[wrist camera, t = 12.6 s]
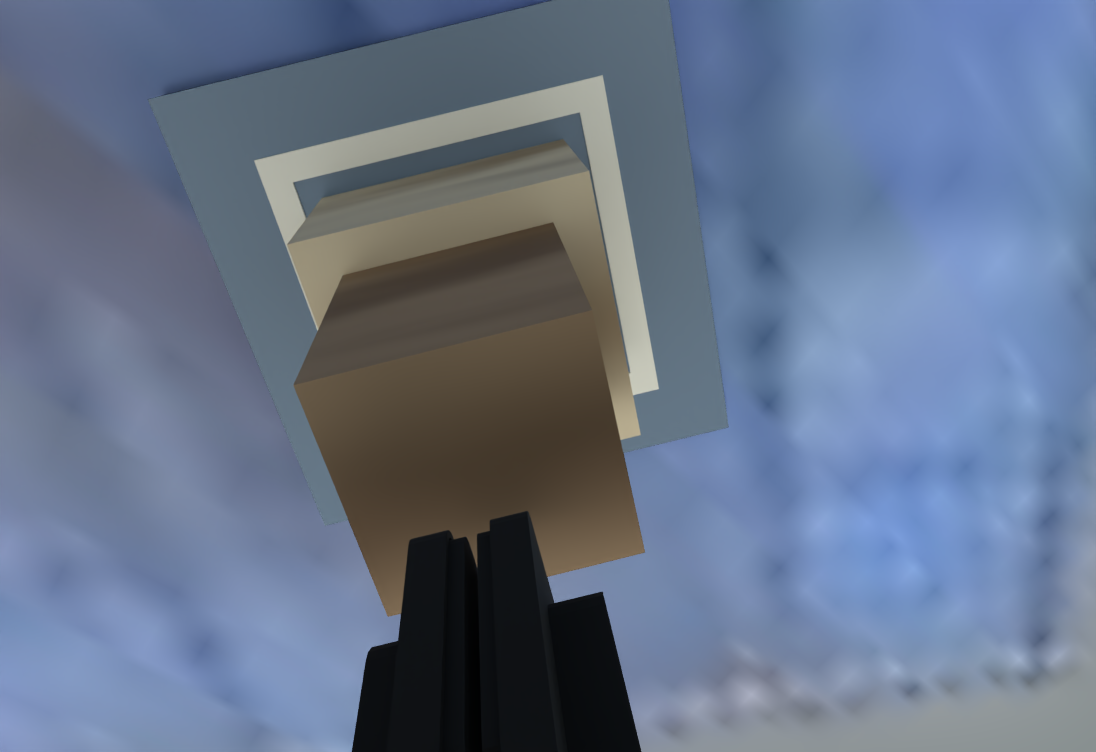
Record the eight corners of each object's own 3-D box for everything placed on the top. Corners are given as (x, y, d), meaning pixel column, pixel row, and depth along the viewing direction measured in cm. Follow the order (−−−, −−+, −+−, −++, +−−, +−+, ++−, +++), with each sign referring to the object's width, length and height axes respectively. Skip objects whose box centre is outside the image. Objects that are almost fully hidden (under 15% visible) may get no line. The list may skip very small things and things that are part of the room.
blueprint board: (163, 95, 22) (146, 99, 21) (654, -25, 22) (665, -27, 21) (330, 505, 28) (324, 527, 27) (718, 411, 28) (729, 428, 27)
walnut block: (342, 275, 18) (293, 385, 13) (553, 222, 18) (592, 309, 13) (406, 456, 21) (387, 616, 15) (595, 409, 21) (645, 552, 15)
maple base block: (321, 198, 23) (286, 244, 18) (563, 138, 23) (588, 170, 18) (395, 412, 25) (381, 498, 21) (608, 359, 25) (640, 435, 21)
